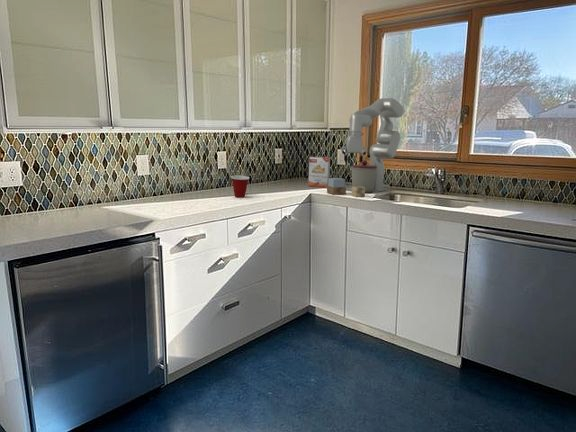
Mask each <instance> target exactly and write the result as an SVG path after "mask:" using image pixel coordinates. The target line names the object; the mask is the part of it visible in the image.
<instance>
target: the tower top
mask: <svg viewBox="0 0 576 432" xmlns="http://www.w3.org/2000/svg"><path fill="white" fill-rule="evenodd" d="M328 186H330V187H346V178H341V177H329V180H328Z"/></svg>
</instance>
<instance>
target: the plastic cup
mask: <svg viewBox="0 0 576 432" xmlns="http://www.w3.org/2000/svg"><path fill="white" fill-rule="evenodd" d="M230 178H231V182H232V188H233V194H234V197H235V198H239V199H240V198H241V199H242V198H245V197H246V192H247V187H248V183H249V180H250V176H246V175H232V176H230Z"/></svg>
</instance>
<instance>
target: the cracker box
mask: <svg viewBox="0 0 576 432" xmlns="http://www.w3.org/2000/svg"><path fill="white" fill-rule="evenodd" d="M308 164H309V165H308V183H307V184H308V185H307V186H308V187H318V188H327V186H328V180H329V178H330V170H331V157H324V156H310V157H309V163H308Z"/></svg>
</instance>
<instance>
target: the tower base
mask: <svg viewBox="0 0 576 432" xmlns="http://www.w3.org/2000/svg"><path fill="white" fill-rule="evenodd" d="M326 194H329V195H332V196H346V195H347V187H346V186H345V187H330V186H327V187H326Z"/></svg>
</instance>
